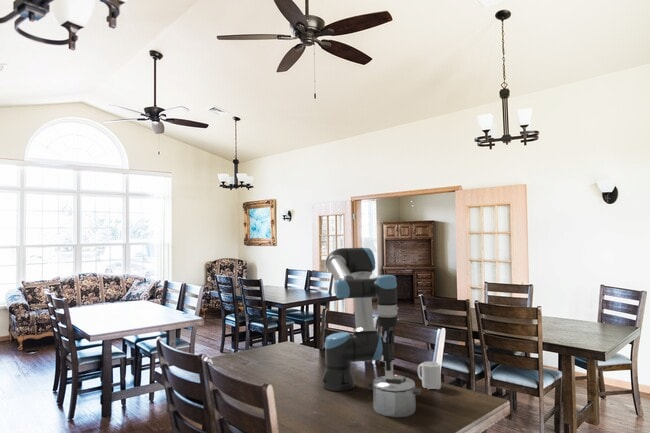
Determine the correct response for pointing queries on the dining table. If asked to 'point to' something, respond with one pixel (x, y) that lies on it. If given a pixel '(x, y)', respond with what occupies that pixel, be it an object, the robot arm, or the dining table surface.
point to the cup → (430, 375)
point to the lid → (394, 383)
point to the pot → (394, 401)
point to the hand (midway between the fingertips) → (389, 378)
